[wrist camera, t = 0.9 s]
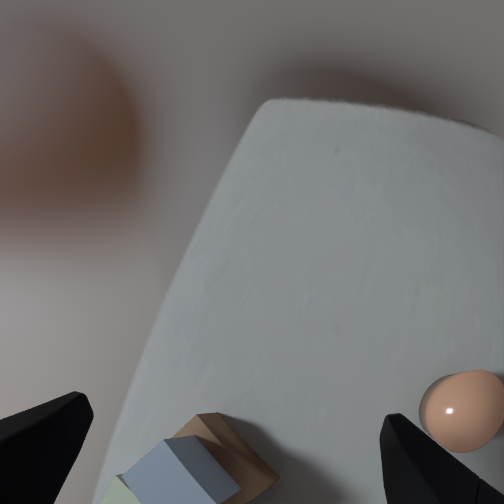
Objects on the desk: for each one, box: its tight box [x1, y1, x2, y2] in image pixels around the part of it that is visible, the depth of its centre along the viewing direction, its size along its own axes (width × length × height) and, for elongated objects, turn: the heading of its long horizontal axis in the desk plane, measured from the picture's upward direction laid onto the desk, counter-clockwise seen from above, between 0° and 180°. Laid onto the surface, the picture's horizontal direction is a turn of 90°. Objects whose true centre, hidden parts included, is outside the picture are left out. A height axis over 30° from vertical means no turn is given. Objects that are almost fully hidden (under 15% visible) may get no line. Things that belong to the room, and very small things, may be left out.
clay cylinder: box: [419, 370, 504, 453], centre depth 13 cm, size 5×5×5 cm
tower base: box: [172, 412, 280, 504], centre depth 18 cm, size 7×7×4 cm
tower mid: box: [122, 435, 242, 504], centre depth 15 cm, size 5×5×4 cm
